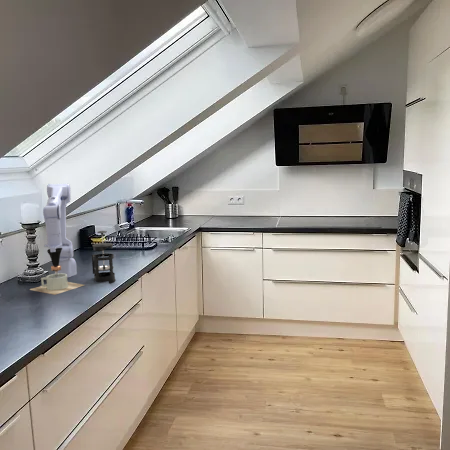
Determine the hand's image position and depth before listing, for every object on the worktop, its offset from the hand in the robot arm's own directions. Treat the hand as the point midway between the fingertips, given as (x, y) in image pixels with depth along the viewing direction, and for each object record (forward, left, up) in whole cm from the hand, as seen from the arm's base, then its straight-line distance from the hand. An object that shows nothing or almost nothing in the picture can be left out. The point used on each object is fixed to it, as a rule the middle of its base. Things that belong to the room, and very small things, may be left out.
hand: (56, 265), depth 199 cm
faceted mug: (0, 0, -9) cm, 9 cm away
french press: (-19, +8, -11) cm, 23 cm away
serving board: (0, 0, -10) cm, 10 cm away
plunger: (0, 0, -6) cm, 6 cm away
